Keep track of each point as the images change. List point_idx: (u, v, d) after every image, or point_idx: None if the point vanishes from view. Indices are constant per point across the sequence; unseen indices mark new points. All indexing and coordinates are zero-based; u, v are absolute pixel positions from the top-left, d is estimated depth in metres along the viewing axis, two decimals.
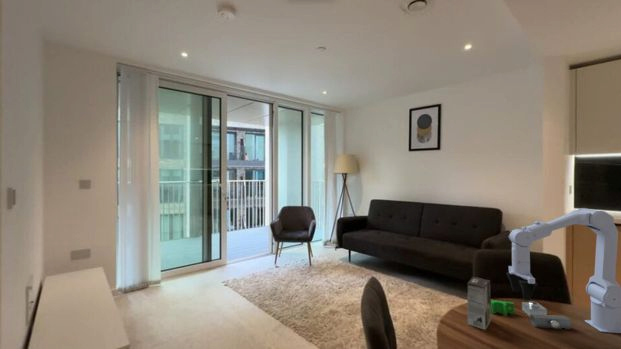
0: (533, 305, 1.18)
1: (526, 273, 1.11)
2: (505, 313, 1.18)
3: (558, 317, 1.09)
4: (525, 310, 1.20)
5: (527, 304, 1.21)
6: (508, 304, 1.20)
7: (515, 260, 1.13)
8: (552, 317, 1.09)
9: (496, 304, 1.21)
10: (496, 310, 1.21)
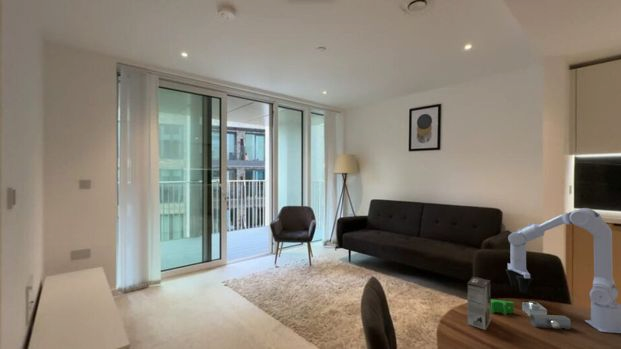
0: (533, 305, 1.18)
1: (522, 269, 1.28)
2: (505, 312, 1.19)
3: (558, 317, 1.09)
4: (525, 310, 1.20)
5: (527, 304, 1.21)
6: (508, 303, 1.21)
7: (510, 257, 1.32)
8: (552, 317, 1.09)
9: (496, 303, 1.22)
10: (496, 309, 1.22)
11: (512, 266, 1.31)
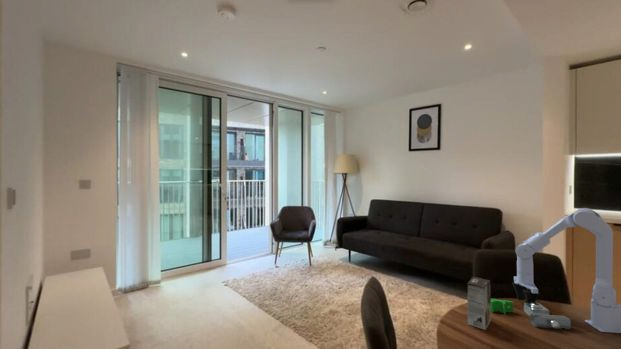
0: (535, 306, 1.17)
1: (530, 283, 1.23)
2: (504, 312, 1.20)
3: (558, 317, 1.09)
4: (527, 311, 1.19)
5: (529, 305, 1.20)
6: (507, 303, 1.21)
7: (517, 270, 1.27)
8: (552, 317, 1.09)
9: (495, 303, 1.22)
10: (495, 309, 1.22)
11: (519, 280, 1.26)
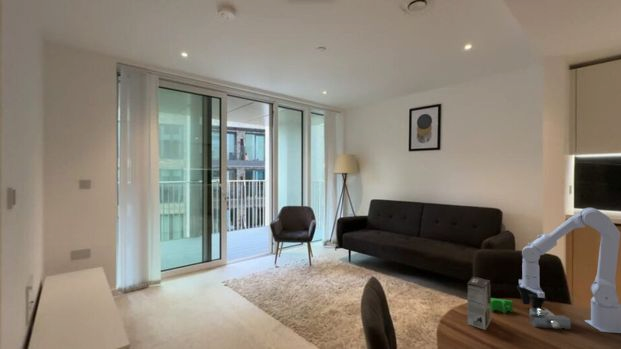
0: (542, 311, 1.13)
1: (536, 287, 1.19)
2: (504, 311, 1.20)
3: (558, 317, 1.09)
4: None
5: (535, 310, 1.15)
6: (507, 302, 1.22)
7: (523, 274, 1.22)
8: (552, 317, 1.09)
9: (495, 302, 1.23)
10: (495, 308, 1.23)
11: (524, 283, 1.21)
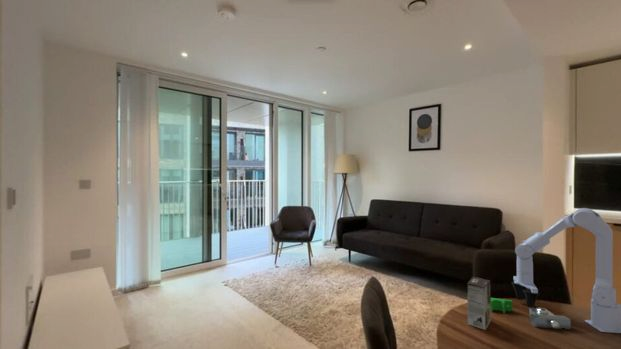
0: (541, 311, 1.13)
1: (529, 283, 1.23)
2: (504, 311, 1.21)
3: (558, 317, 1.09)
4: None
5: (535, 310, 1.15)
6: (506, 302, 1.22)
7: (517, 270, 1.27)
8: (552, 317, 1.09)
9: (495, 302, 1.23)
10: (495, 308, 1.23)
11: (518, 280, 1.26)
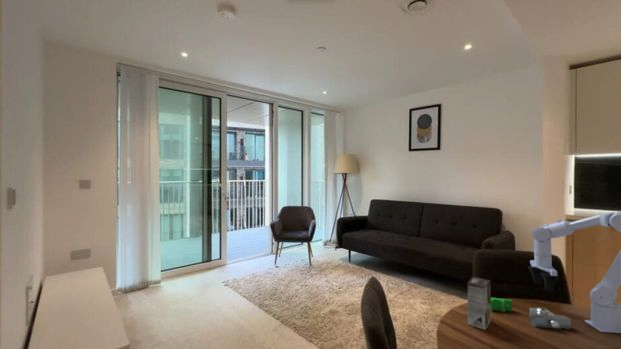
0: (541, 311, 1.13)
1: (548, 266, 1.20)
2: (503, 310, 1.21)
3: (558, 317, 1.09)
4: None
5: (535, 310, 1.15)
6: (506, 301, 1.23)
7: (534, 253, 1.24)
8: (552, 317, 1.09)
9: (494, 301, 1.23)
10: (494, 307, 1.24)
11: (536, 263, 1.23)
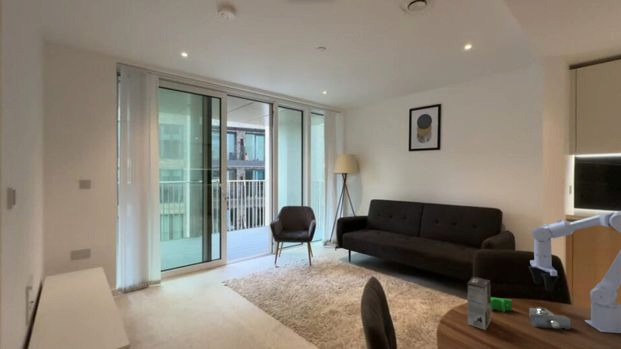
0: (541, 311, 1.13)
1: (548, 266, 1.20)
2: (503, 310, 1.21)
3: (558, 317, 1.09)
4: None
5: (535, 310, 1.15)
6: (506, 301, 1.23)
7: (534, 253, 1.24)
8: (552, 317, 1.09)
9: (494, 301, 1.24)
10: (494, 307, 1.24)
11: (536, 263, 1.23)
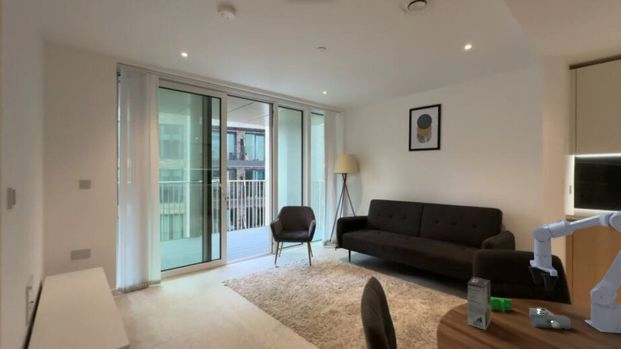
0: (541, 311, 1.13)
1: (548, 266, 1.20)
2: (503, 310, 1.21)
3: (558, 317, 1.09)
4: None
5: (535, 310, 1.15)
6: (506, 301, 1.23)
7: (534, 253, 1.24)
8: (552, 317, 1.09)
9: (494, 301, 1.24)
10: (494, 307, 1.24)
11: (536, 263, 1.23)
